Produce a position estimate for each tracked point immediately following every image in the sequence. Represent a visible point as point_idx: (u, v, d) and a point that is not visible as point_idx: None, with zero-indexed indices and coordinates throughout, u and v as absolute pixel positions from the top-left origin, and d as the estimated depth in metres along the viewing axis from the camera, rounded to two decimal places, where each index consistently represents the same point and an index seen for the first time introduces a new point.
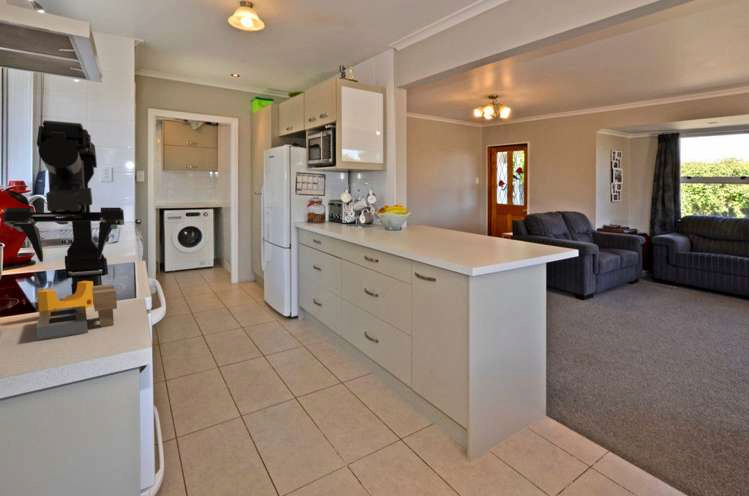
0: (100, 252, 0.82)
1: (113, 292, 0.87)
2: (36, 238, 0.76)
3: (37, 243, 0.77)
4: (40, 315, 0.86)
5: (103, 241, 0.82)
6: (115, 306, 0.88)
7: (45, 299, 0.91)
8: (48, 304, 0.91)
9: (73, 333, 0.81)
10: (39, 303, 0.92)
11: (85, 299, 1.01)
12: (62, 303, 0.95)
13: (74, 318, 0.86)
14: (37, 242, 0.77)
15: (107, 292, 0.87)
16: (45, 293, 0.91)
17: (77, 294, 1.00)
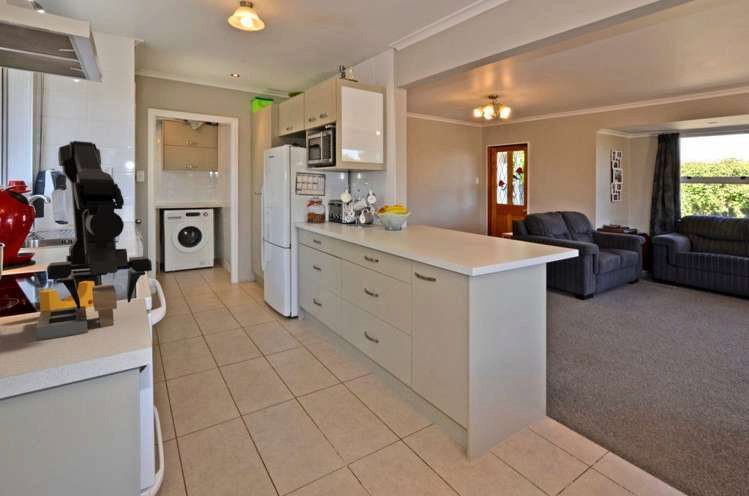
0: (130, 298, 0.92)
1: (113, 292, 0.87)
2: (75, 290, 0.86)
3: (76, 294, 0.86)
4: (40, 315, 0.86)
5: (133, 288, 0.92)
6: (115, 306, 0.88)
7: (47, 299, 0.91)
8: (50, 304, 0.91)
9: (73, 333, 0.81)
10: (41, 304, 0.92)
11: (86, 299, 1.01)
12: (64, 303, 0.95)
13: (74, 318, 0.86)
14: (76, 293, 0.86)
15: (107, 292, 0.87)
16: (47, 293, 0.91)
17: (78, 294, 1.00)
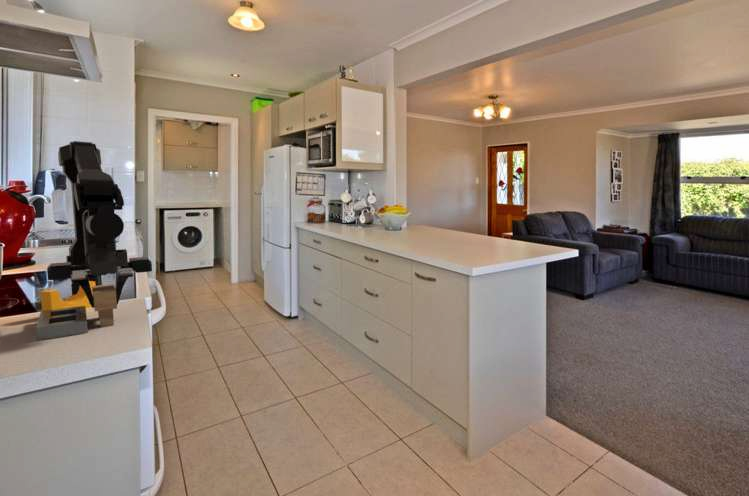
0: (118, 300, 0.91)
1: (113, 292, 0.87)
2: (89, 289, 0.87)
3: (90, 293, 0.87)
4: (40, 315, 0.86)
5: (120, 290, 0.91)
6: (115, 306, 0.88)
7: (49, 299, 0.91)
8: (52, 304, 0.91)
9: (73, 333, 0.81)
10: (42, 304, 0.91)
11: None
12: (65, 303, 0.95)
13: (74, 318, 0.86)
14: (90, 292, 0.87)
15: (107, 292, 0.87)
16: (49, 293, 0.91)
17: (79, 294, 1.00)
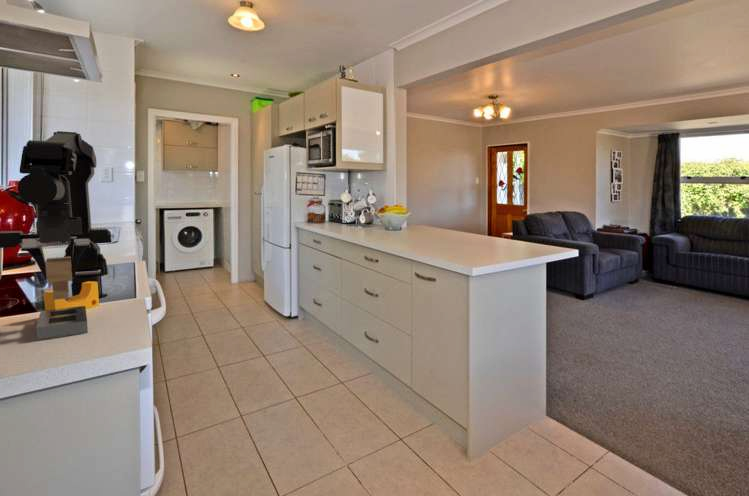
0: (74, 272, 0.86)
1: (67, 263, 0.82)
2: (42, 259, 0.82)
3: (43, 264, 0.82)
4: (40, 315, 0.86)
5: (77, 262, 0.85)
6: (70, 278, 0.83)
7: (52, 299, 0.91)
8: (55, 305, 0.91)
9: (73, 333, 0.81)
10: (45, 304, 0.91)
11: (90, 299, 1.00)
12: (68, 304, 0.94)
13: (74, 318, 0.86)
14: (43, 263, 0.82)
15: (61, 263, 0.81)
16: (52, 294, 0.91)
17: (82, 294, 1.00)
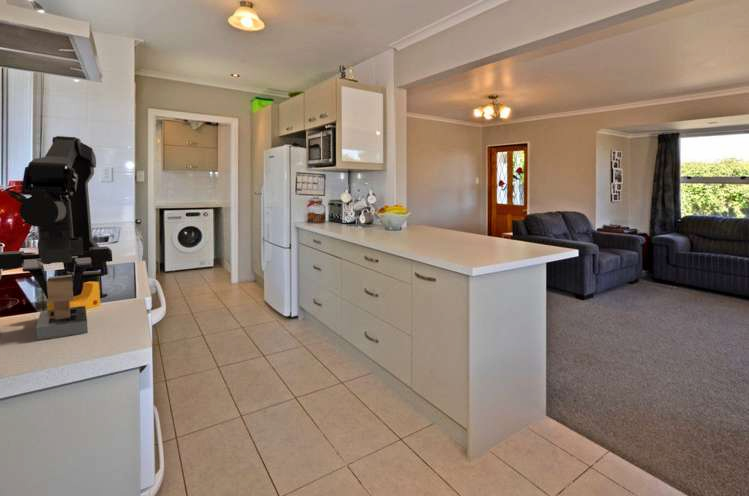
0: (75, 291, 0.86)
1: (69, 283, 0.83)
2: (43, 279, 0.82)
3: (45, 284, 0.83)
4: (40, 315, 0.86)
5: (78, 281, 0.86)
6: (71, 297, 0.83)
7: None
8: None
9: (73, 333, 0.81)
10: (47, 304, 0.91)
11: (91, 300, 1.00)
12: (70, 304, 0.94)
13: (74, 318, 0.86)
14: (44, 283, 0.82)
15: (62, 283, 0.82)
16: None
17: (83, 294, 1.00)
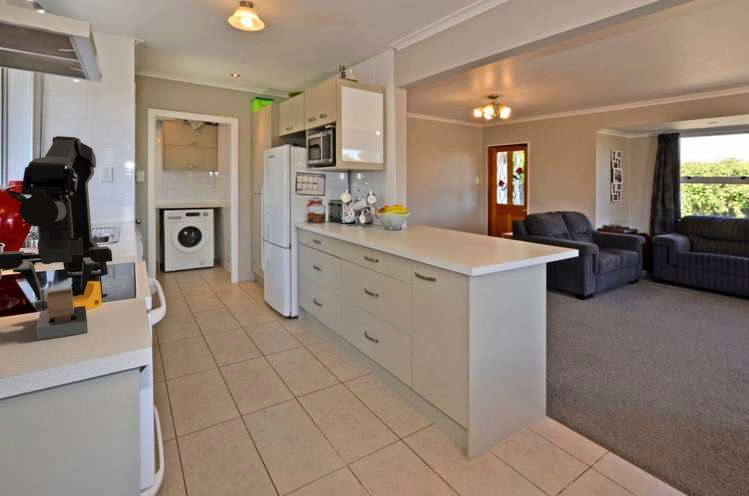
0: (83, 290, 0.87)
1: (68, 296, 0.83)
2: (34, 280, 0.81)
3: (35, 284, 0.82)
4: (40, 315, 0.86)
5: (86, 280, 0.87)
6: (72, 311, 0.83)
7: None
8: None
9: (73, 333, 0.81)
10: None
11: (93, 299, 1.00)
12: None
13: (74, 318, 0.86)
14: (35, 283, 0.82)
15: (62, 297, 0.82)
16: None
17: (84, 294, 1.00)
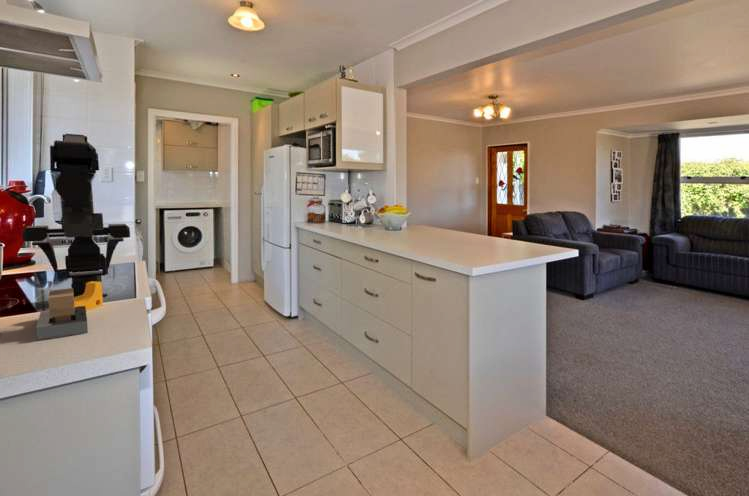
0: (108, 264, 0.92)
1: (70, 297, 0.83)
2: (52, 253, 0.86)
3: (53, 258, 0.86)
4: (40, 315, 0.86)
5: (111, 255, 0.92)
6: (72, 311, 0.83)
7: None
8: None
9: (73, 333, 0.81)
10: None
11: (94, 299, 1.01)
12: (74, 303, 0.95)
13: (74, 318, 0.86)
14: (53, 257, 0.86)
15: (63, 297, 0.82)
16: None
17: (86, 294, 1.00)
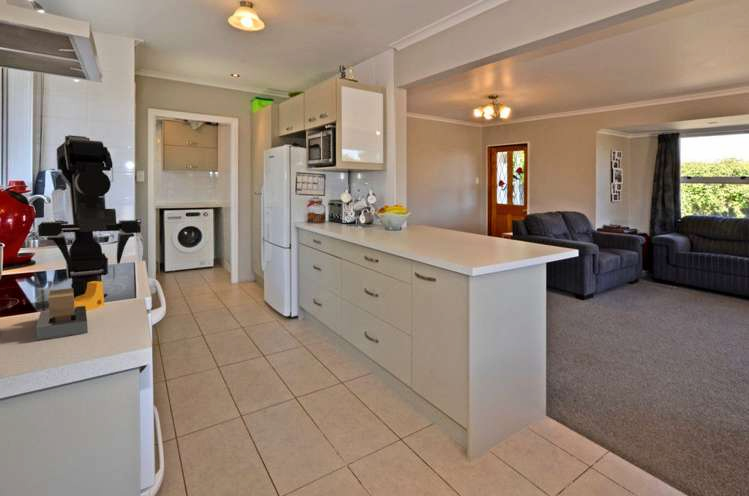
0: (119, 259, 0.95)
1: (70, 297, 0.83)
2: (66, 248, 0.88)
3: (67, 252, 0.89)
4: (40, 315, 0.86)
5: (122, 249, 0.95)
6: (72, 311, 0.83)
7: None
8: None
9: (73, 333, 0.81)
10: None
11: (96, 299, 1.01)
12: (75, 303, 0.95)
13: (74, 318, 0.86)
14: (67, 251, 0.89)
15: (63, 297, 0.82)
16: None
17: (87, 294, 1.00)
